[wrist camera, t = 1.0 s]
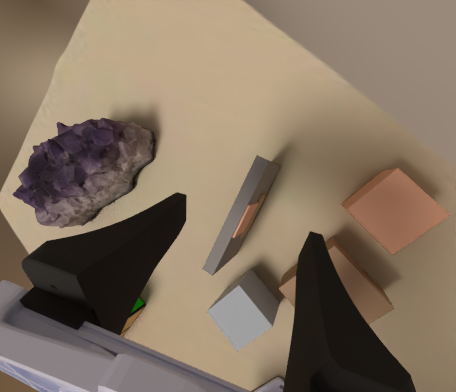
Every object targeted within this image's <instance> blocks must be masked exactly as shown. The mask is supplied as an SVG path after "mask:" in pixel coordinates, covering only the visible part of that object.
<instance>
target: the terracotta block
mask: <svg viewBox="0 0 456 392" xmlns="http://www.w3.org/2000/svg"><path fill="white" fill-rule="evenodd" d="M341 205H342V206H343V207H344V208H345V209H346V210H347V211H348V212H349V213H350V214H351V215H352V216H353V217H354V218H355V219H356V220H357V221H358V222H359V223H360V224H361V225H362V226H363V227H364V228H365V229H366V230H367V231H368V232H369V233H370V234H371V235H372V236H373V237H374V238H375V239H376V240H377V241H378V242H379V243H380V244H381V245H382V246H383V247H384V248H386V249H387V250H388V251H389V252H390V253H391V254H392V255H393V254H395V253H396V252H398V251H399V250H401V249H402V248H404V247H405V246H406V245H408V244H409V243H411V242H412V241H414V240H415V239H417V238H418V237H420V236H421V235H422V234H424V233H425V232H427V231H428V230H430V229H431V228H433V227H434V226H436V225H437V224H438V223H440V222H441V221H443V220H444V219H446V218H447V217H449V216H450V214H449V213H448V212H446V211H445V210H444V209H443V208H442V207H441V206H440V205H439V204H438V203H437V202H435V201H434V200H433V199H432V198H431V197H430V196H429V195H428V194H427V193H425V192H424V191H423V190H422V189H421V188H420V187H419V186H418V185H417V184H416V183H414V182H413V181H412V180H411V179H410V178H409V177H408V176H407V175H406V174H404V173H403V172H402V171H401V170H400V169H399V168H395V169H390V170H384V171H382V172H380V173H379V174H378V175H377V176H376V177H374V178H373V179H372V180H371V181H369V182H368V183H367V184H366V185H364V186H363V187H362V188H361V189H360V190H358V191H357V192H356V193H355V194H353V195H352V196H351V197H350V198H349V199H347V200H346V201H345V202H344V203H342V204H341Z"/></svg>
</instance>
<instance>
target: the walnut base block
mask: <svg viewBox="0 0 456 392" xmlns="http://www.w3.org/2000/svg"><path fill="white" fill-rule="evenodd" d="M325 244H326V247H327V249H328V252H329V255H330V257H331V259H332V262H333V264H334V266H335V269H336V271H337V273H338V275H339V277H340V279H341V281H342V283H343V285H344V287H345V289H346V291H347V292H348V294H349V296H350V298H351V299H352V301H353V303H354V304H355V306H356V307H357V309H358V310H359V312H360V314H361V315H362V316H363V318H364V319H365V321H366V322H367V323H368V324H370V323H372V322H373V321H375V320H376V319H378V318H380V317H381V316H383V315H385V314H386V313H388V312H390V311H391V310H393V309H394V307H393V306H392V304H391V302H390V301H389V299H388V297H387V296H386V294H385V292H384V291H383V290H382V288H381V287H380V286H379V285H378V284H377V283H376V282H375V281H374V280H373V279H372V278H371V277H370V276H369V275H368V274H367V273H366V272H365V271H364V270H363V269H362V268H361V267H360V266H359V264H358V263H357V262H356V261H355V260H354V259H353V258H352V257H351V256H350V255H349V254H348V253H347V252H346V251H345V250H344V249H343V248H342V247H341V246H340V245H339V244H338V243H337V241H336V240H335V239H334V238H333V237H331V238H330V239H329V240H328V241H326V242H325ZM296 271H297V265H296V266H294V267H293V268H292V269H290V270H289V271H288V272H287V273H285V274H284V275H283V278H282V280H281V283H280V286H279V290H280V291H281V292H282V293H283V294H284V296H285V297H286V298H287V299H288V300H289V301H290V303H291V304H292V305H293V306H294V307H295V289H296Z"/></svg>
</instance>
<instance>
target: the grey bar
mask: <svg viewBox="0 0 456 392" xmlns="http://www.w3.org/2000/svg"><path fill="white" fill-rule="evenodd" d="M280 167H281V166H279V165H277V164H275V163H273V162H271V161H269V160H266V159H264V158H262V157H260V156H256V158H255V160H254V162H253V164H252V166H251V168H250V171H249V173H248V175H247V177H246V179H245V181H244V183H243V185H242V187H241V189H240V191H239V194H238V196H237V198H236V200H235V202H234V204H233V206H232V208H231V210H230V212H229V214H228V217H227V219H226V221H225V223H224V225H223V227H222V229H221V231H220V233H219V235H218V237H217V240H216V242H215V244H214V246H213V248H212V250H211V252H210V254H209V256H208V258H207V260H206V263H205V265H204V267H203V269H204V270H205V271H206V272H208V273H209V274H211V275H212V276H213V275H214V274H215V273H216V272H217V271H218V270H220V269H221V268H222V267H223V266H224V265H225V264H226V263H227V262H229V261H230V260H231V259H232V258H233V257H234V256H235V255H236V254H237V252H238V250H239V248H240V246H241V244H242V242H243V240H244V238H245V236H246V234H247V232H248V230H249V228H250V226H251V224H252V222H253V220H254V218H255V216H256V214H257V212H258V211H259V209H260V207H261V205H262V203H263V201H264V199H265V197H266V195H267V192H268V191H269V189H270V187H271V185H272V183H273V181H274V179H275V177H276V175H277V173H278V171H279V169H280Z"/></svg>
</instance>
